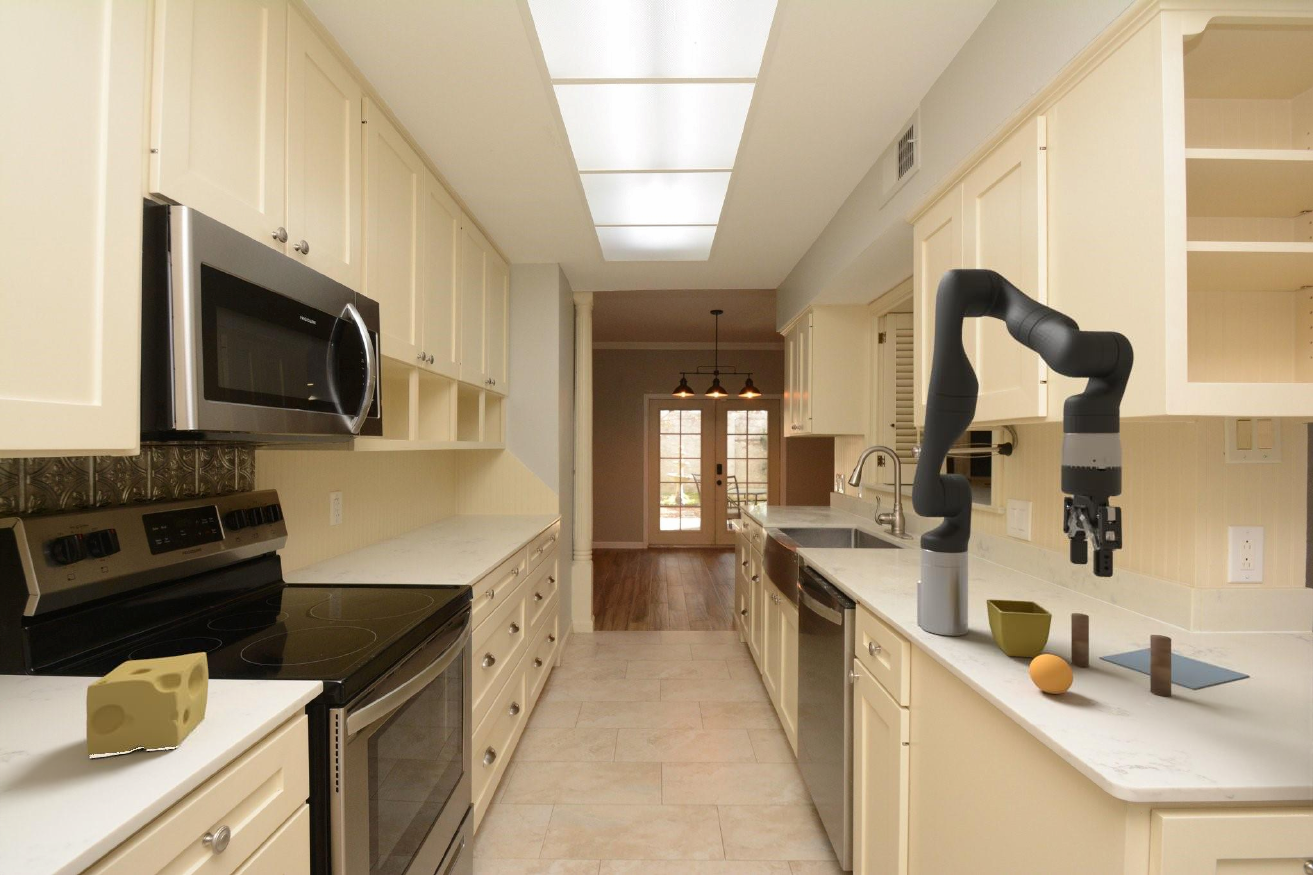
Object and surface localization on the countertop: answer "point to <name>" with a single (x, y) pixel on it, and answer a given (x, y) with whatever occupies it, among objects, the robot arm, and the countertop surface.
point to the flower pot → (1019, 626)
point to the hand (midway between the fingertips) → (1090, 569)
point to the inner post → (1080, 640)
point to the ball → (1051, 674)
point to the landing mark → (1178, 669)
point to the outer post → (1160, 665)
